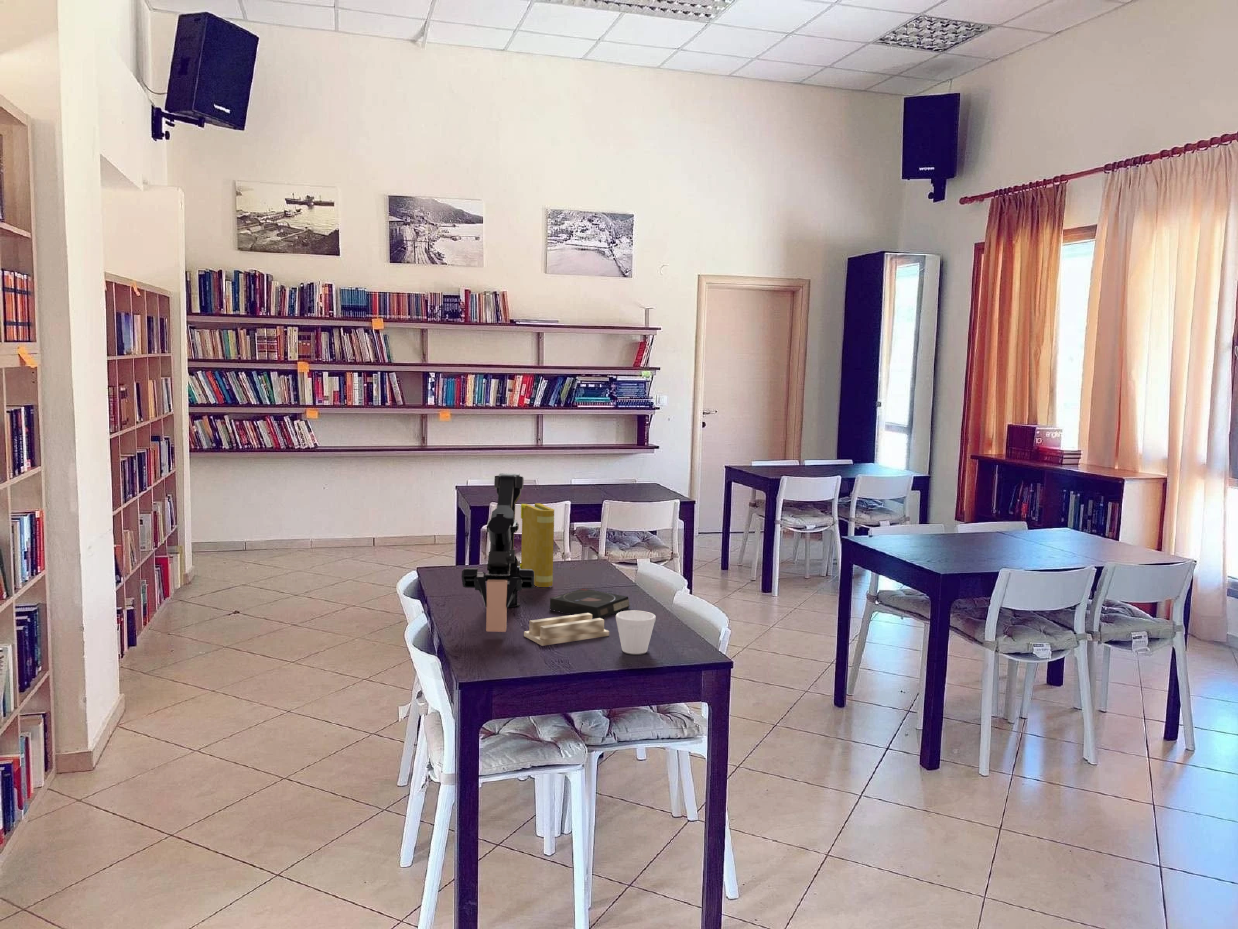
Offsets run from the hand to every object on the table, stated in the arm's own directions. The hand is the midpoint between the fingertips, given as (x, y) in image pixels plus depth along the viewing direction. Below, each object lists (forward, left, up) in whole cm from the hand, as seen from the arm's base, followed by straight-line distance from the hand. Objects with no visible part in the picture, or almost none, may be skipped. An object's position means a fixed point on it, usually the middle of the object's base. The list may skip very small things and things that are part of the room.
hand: (496, 606), depth 238 cm
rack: (-18, +6, -9) cm, 20 cm away
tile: (-1, -1, -7) cm, 7 cm away
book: (-41, -53, -9) cm, 68 cm away
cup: (-26, +26, -9) cm, 37 cm away
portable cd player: (-38, -15, -9) cm, 42 cm away
